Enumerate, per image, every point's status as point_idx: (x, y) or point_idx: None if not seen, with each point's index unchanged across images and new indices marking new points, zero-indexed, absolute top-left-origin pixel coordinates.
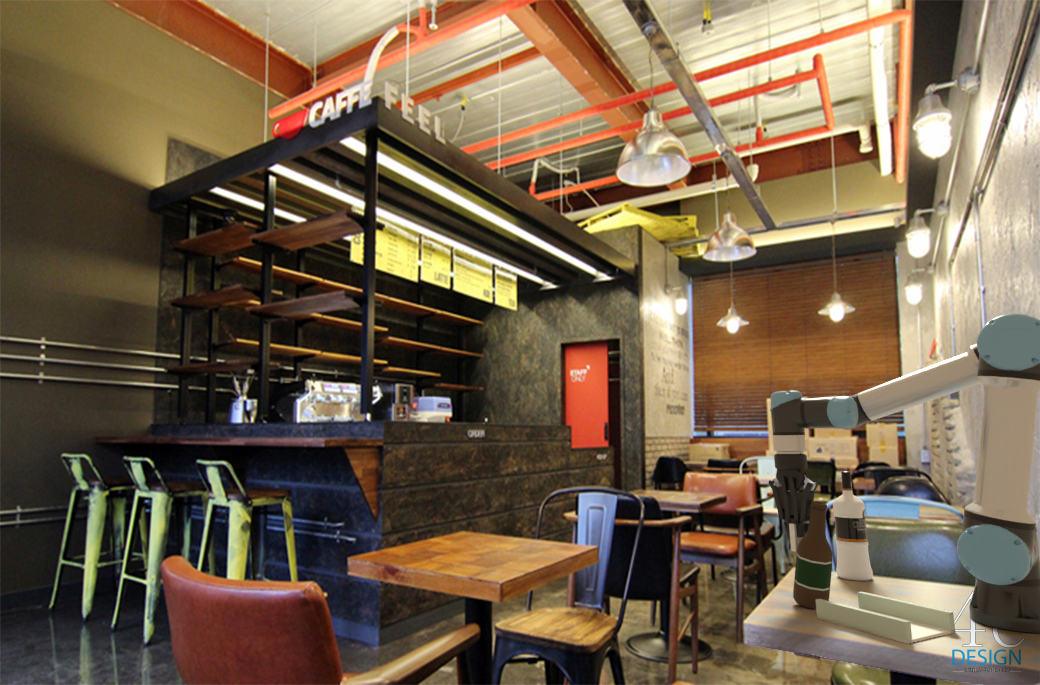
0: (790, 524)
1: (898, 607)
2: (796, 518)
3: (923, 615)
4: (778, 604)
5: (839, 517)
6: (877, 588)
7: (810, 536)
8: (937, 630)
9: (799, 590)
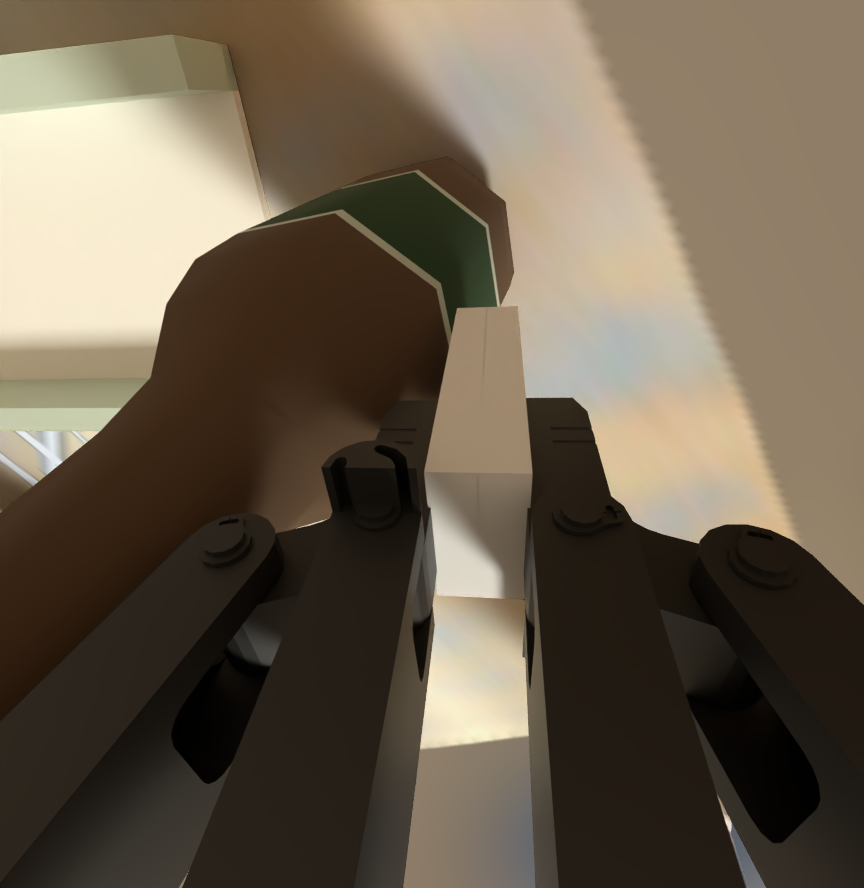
0: (501, 464)
1: (129, 395)
2: (354, 555)
3: (52, 392)
4: (545, 97)
5: None
6: (510, 637)
7: (187, 375)
8: None
9: (413, 167)
